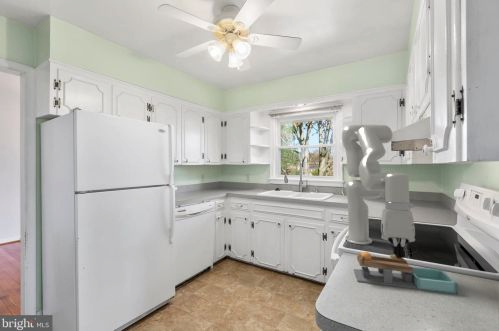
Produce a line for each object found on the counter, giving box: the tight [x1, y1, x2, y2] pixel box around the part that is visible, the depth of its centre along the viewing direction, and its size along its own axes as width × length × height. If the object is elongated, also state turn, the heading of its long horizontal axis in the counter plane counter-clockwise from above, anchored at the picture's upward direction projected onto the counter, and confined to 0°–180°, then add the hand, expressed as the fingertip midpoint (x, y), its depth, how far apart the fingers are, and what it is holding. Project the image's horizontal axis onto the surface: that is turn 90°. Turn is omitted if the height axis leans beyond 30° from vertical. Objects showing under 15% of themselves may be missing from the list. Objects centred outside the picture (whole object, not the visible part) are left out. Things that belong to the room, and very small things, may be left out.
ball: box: [360, 251, 372, 261], centre depth 81 cm, size 3×3×3 cm
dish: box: [411, 266, 459, 295], centre depth 76 cm, size 9×10×3 cm
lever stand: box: [353, 266, 418, 290], centre depth 80 cm, size 9×17×5 cm, turn 73°
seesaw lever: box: [356, 252, 414, 273], centre depth 83 cm, size 13×16×3 cm
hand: (398, 256), depth 86 cm, fingers closed
